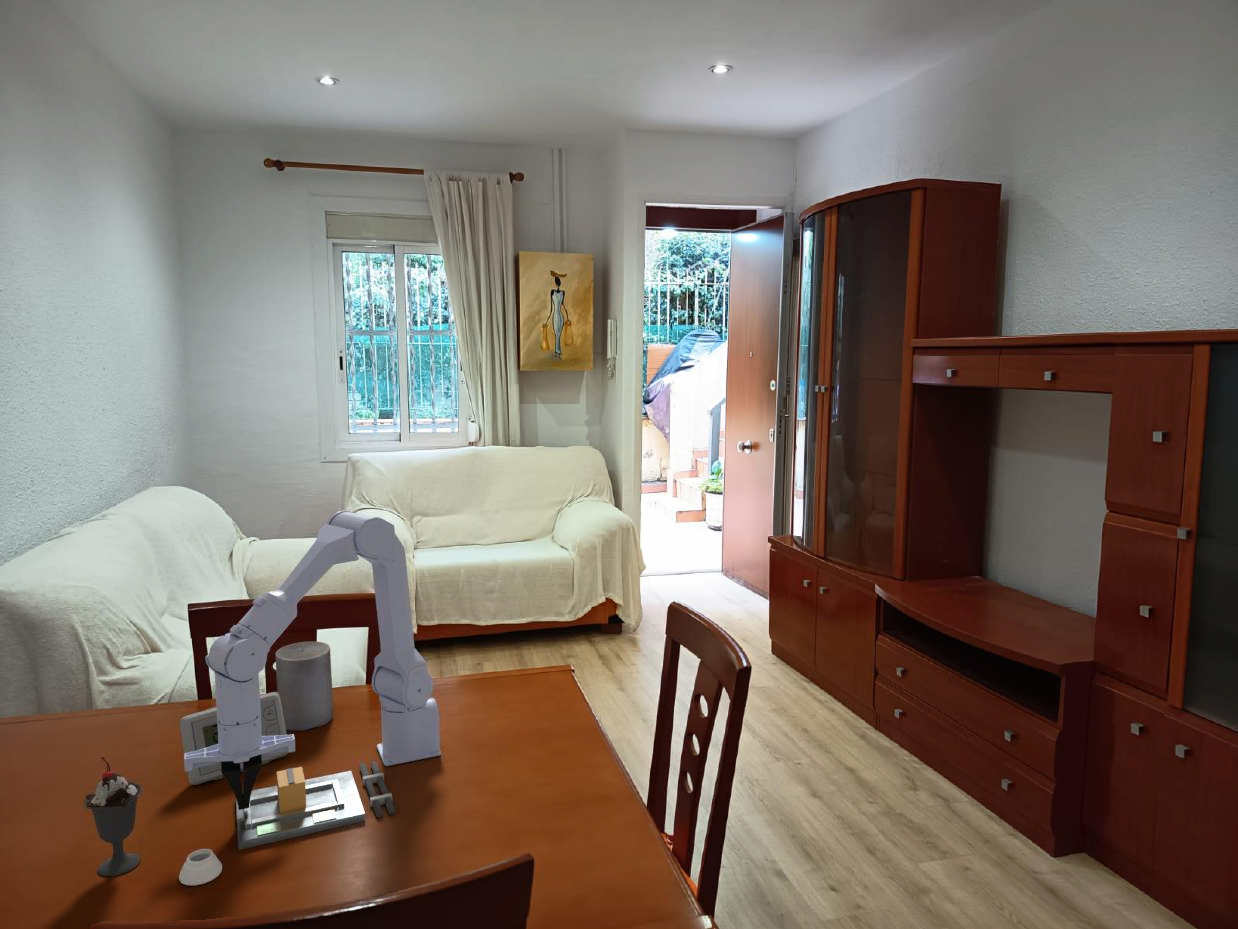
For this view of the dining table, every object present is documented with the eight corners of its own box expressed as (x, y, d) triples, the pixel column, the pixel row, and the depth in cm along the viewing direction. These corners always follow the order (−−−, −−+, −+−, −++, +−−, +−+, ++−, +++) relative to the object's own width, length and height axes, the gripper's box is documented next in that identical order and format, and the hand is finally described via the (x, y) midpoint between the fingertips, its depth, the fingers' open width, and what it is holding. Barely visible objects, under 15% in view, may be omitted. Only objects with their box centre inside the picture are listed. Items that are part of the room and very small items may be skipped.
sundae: (105, 852, 113) (97, 748, 111) (156, 850, 114) (149, 747, 112) (78, 882, 107) (69, 773, 105) (132, 880, 107) (125, 771, 105)
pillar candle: (295, 707, 161) (291, 633, 158) (343, 710, 159) (339, 635, 157) (268, 729, 151) (263, 651, 149) (318, 733, 150) (314, 654, 148)
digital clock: (185, 791, 129) (181, 727, 128) (180, 767, 137) (176, 706, 136) (294, 764, 138) (291, 704, 137) (283, 743, 146) (280, 686, 144)
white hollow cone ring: (209, 889, 106) (229, 865, 111) (208, 867, 105) (228, 845, 110) (171, 888, 106) (193, 864, 111) (170, 866, 106) (191, 844, 111)
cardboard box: (303, 793, 126) (301, 765, 126) (306, 809, 122) (305, 780, 121) (277, 799, 125) (276, 770, 124) (280, 815, 120) (278, 786, 120)
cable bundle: (377, 765, 138) (377, 758, 138) (396, 813, 123) (396, 807, 123) (357, 769, 137) (357, 762, 136) (375, 818, 122) (374, 812, 122)
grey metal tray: (351, 777, 134) (351, 767, 134) (365, 821, 121) (364, 809, 121) (236, 801, 126) (235, 790, 126) (238, 850, 114) (237, 838, 114)
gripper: (181, 738, 112) (186, 831, 113) (295, 718, 118) (299, 807, 120) (183, 718, 118) (188, 806, 120) (291, 700, 124) (295, 785, 126)
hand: (243, 805), depth 120 cm, fingers closed
